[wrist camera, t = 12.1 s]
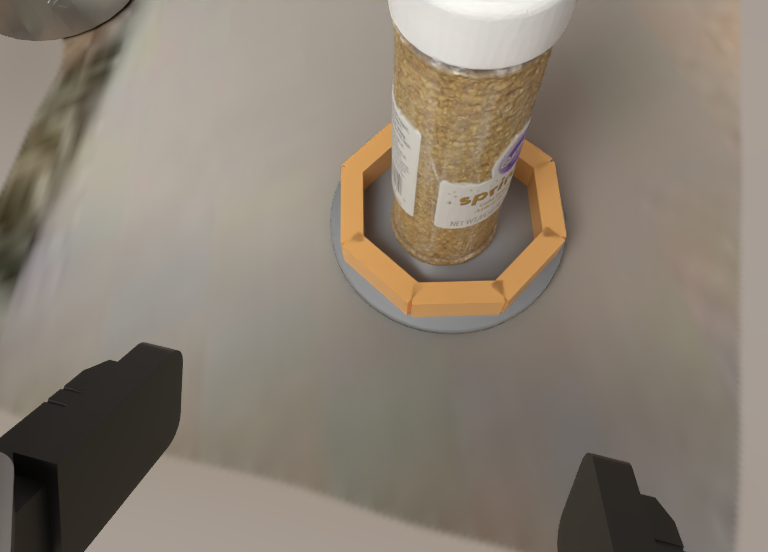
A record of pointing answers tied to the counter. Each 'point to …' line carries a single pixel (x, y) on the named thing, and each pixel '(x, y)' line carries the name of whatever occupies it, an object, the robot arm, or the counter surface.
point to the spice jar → (462, 115)
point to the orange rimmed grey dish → (453, 282)
